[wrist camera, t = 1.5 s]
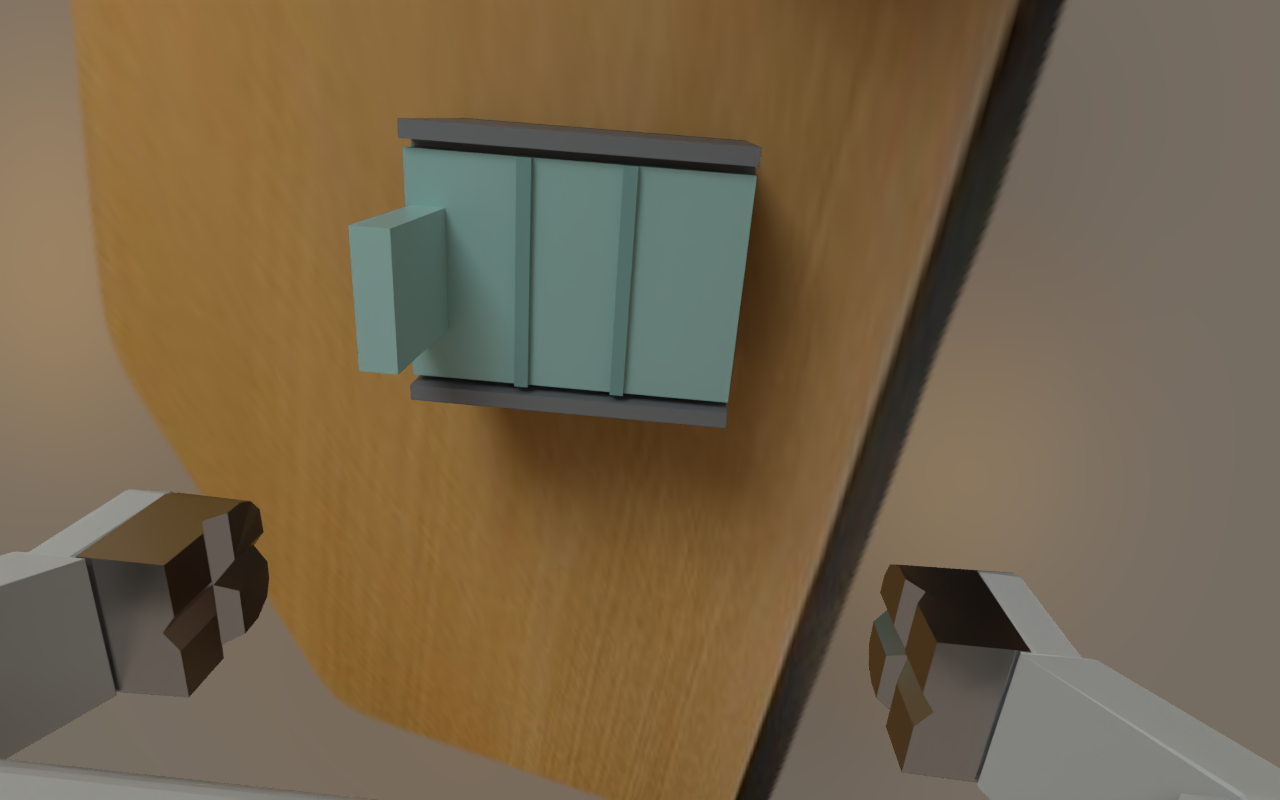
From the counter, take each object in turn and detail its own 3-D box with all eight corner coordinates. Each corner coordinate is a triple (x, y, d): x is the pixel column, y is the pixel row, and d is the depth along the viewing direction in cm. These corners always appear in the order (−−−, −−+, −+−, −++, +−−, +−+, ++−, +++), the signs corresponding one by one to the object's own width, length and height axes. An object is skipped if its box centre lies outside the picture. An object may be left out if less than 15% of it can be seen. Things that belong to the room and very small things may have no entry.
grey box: (460, 118, 30) (397, 118, 24) (744, 140, 30) (761, 147, 23) (465, 343, 34) (410, 399, 27) (717, 366, 34) (725, 428, 27)
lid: (411, 145, 25) (335, 154, 20) (754, 173, 25) (774, 189, 19) (420, 367, 28) (357, 427, 23) (726, 395, 28) (736, 461, 22)
